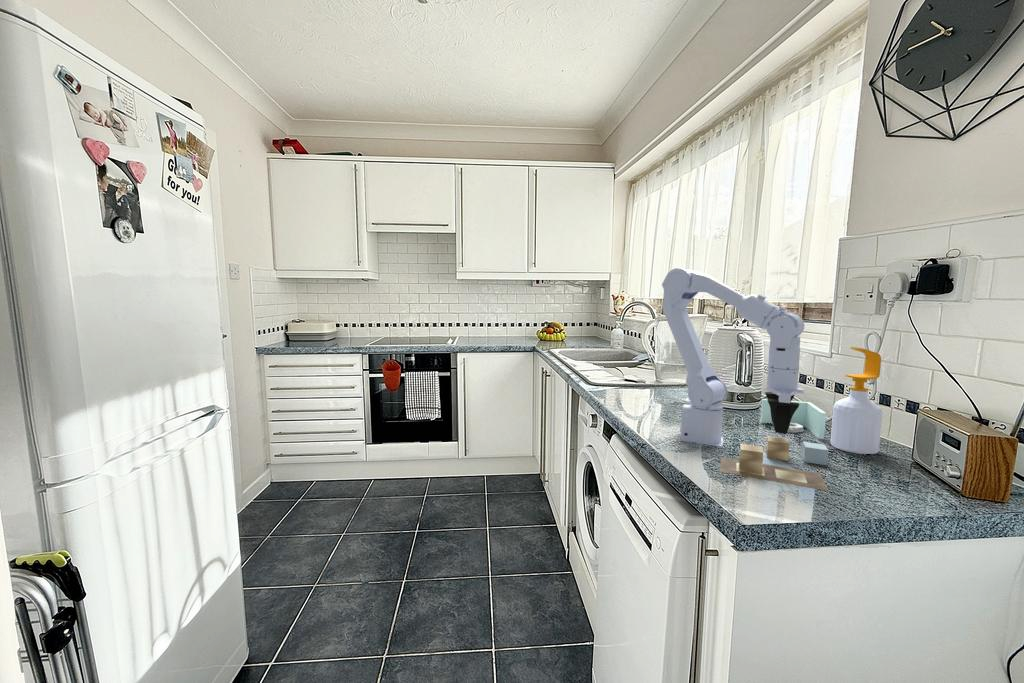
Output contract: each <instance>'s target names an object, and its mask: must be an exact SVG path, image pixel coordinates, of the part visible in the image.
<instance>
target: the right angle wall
mask: <svg viewBox="0 0 1024 683" xmlns="http://www.w3.org/2000/svg"><path fill="white" fill-rule="evenodd" d="M767 400H768V398H762V399H761V412H760V414H761V415H760V423H761V424H767V423H769V424H770V423H771V425H773V428H774V424H773V422H772V418H771V410H770V405H769V403H768V401H767ZM791 402H793V403H799V407H798V408H797V410H796V411H795V413H794V414H793V416H792V419H791V422H790V425H789V429H788V431H787V433H789V434H790V433H793V434H797V433H802V432H803V431H804V427H805V428H806V429H807V430H808V429H809V430H810V431H809V430H808V431H809V432H810V433H812V434H813V435H814V436H815V437H816V438H817V439H819V440H825V431H826V421H827V420H826V416H827V412H825V411H824V410H823V409H821V408H819V407H818V406H816V405H815V404H814V403H812V402H810V401H809V402H808V401H797V400H795V401H794V400H792V401H791ZM803 426H804V427H803Z"/></svg>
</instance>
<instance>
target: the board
mask: <svg viewBox="0 0 1024 683" xmlns="http://www.w3.org/2000/svg"><path fill="white" fill-rule="evenodd" d="M719 466H720V467H719V473H725V474H730V475H736V476H742V477H748V478H754V479H759V480H764V481H770V482H776V483H781V484H785V485H794V486H796V487H797V486H798V487H805V488H810V489H814V490H821V491H827V492H829V488H828V486H827V484H826V482H825V480H824V478H823V476H822V473H820V472H815V471H809V470H803V469H795V468H791V467H790V468H789V467H785V466H784V467H783V466H779V465H778V466H777V465H770V464H765V463H763V465H762V474H756V473H750V472H744V471H739V459H734V458H728V457H721V458H720V465H719Z"/></svg>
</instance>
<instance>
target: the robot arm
mask: <svg viewBox="0 0 1024 683" xmlns="http://www.w3.org/2000/svg"><path fill="white" fill-rule="evenodd" d="M661 286H662V289H663V298H662V311H663V314H664V317H665V319H666V322H667V323H668V326H669V329H670V332H671V334H672V336H673V338H674V341H675V343H676V346H677V349H678V351H679V354H680V356H681V359H682V361H683V364H684V366H685V369H686V371H687V375H686V379H685V383H686V385H687V397H688V400H689V402H690V404H683V405H682V410H681V420H680V426H679V427H680V430H679V431H680V439H679V440H680V441H682V442H691V443H696V444H702V445H709V446H717V447H723V445H724V444H723V443H724V437H723V436H722V432H723V418H724V416H723V415H724V414H723V413H724V404H723V401H724V400H725V399H726V398H727V396H728V386H727V385H726V383H725V382H724V381H722V379H721V378H720V376H719V375H718V373H717V371H716V370H715V369H713V368H712V366H710V364H709V363H710V362H709V361H708V359H707V356H706V353H705V352H704V349H703V347H702V344H701V342H700V340H699V336H698V334H697V332H696V330H695V328H694V326H693V323H692V320H691V318H690V316H689V312H688V311H687V308H688V307H689V304H690V302H691V301H692V300H693V299H694V297H696V296H697V295H698V294H699V293H707V294H708V295H711V296H713V297H715V298H716V299H719V300H720V301H723V302H725V303H726V304H728V305H730V306H733V308H735V309H736V311H737V314H738V316H739V317H741V318H742V319H744V320H746V321H747V322H750V323H751V324H753V325H755V326H757V327H759V329H762V330H764V331H765V330H766V332H767V334H768V336H769V337H770V338H769V346H768V360H767V362H768V364H767V365H768V366H767V375H766V376H767V378H766V379H767V380H766V385H765V390H766V391H765V392H764V393H765V395H766V399H768V400H767V401H768V403H769V405H770V410H771V418H772V422H773V424H772V425H773V426H774V427H773V429H774V431H775V433H778V434H783V435H784V434H786V435H787V433H788V432H787V431H788V429H789V425H790V422H791V419H792V416H793V414H794V413H795V411H796V410H797V408H798V407H799V403H793V402H791V401H793V399H794V397H795V395H797V394H804V393H805V389H804V388H800V387H798V385H799V384H798V383H799V371H800V359H801V358H800V357H801V356H800V355H801V336H800V335H802V334H803V332H804V330H805V321H804V320H803V318H802V317H801V316H800V315H798V314H797V313H796V312H792V311H791V312H790V311H788V312H786V311H787V308H786V307H784V306H782V305H781V306H778V305H776V304H774V303H772V302H770V301H768V300H766V299H767V296H765V295H762V294H758V295H757V294H754V293H753V294H750V295H744V294H742V293H741V292H738V291H737V290H735V289H733V287H730V286H729V285H727V284H726V283H723V282H721V281H720V280H718V279H716V278H715V277H713V276H711V275H709V274H707V273H702V272H700V271H699V270H696V269H685V268H680V267H676V268H673V269H670V270H669V272H667V274H666V276H665V277H664V280H663V282H662V283H661Z"/></svg>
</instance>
